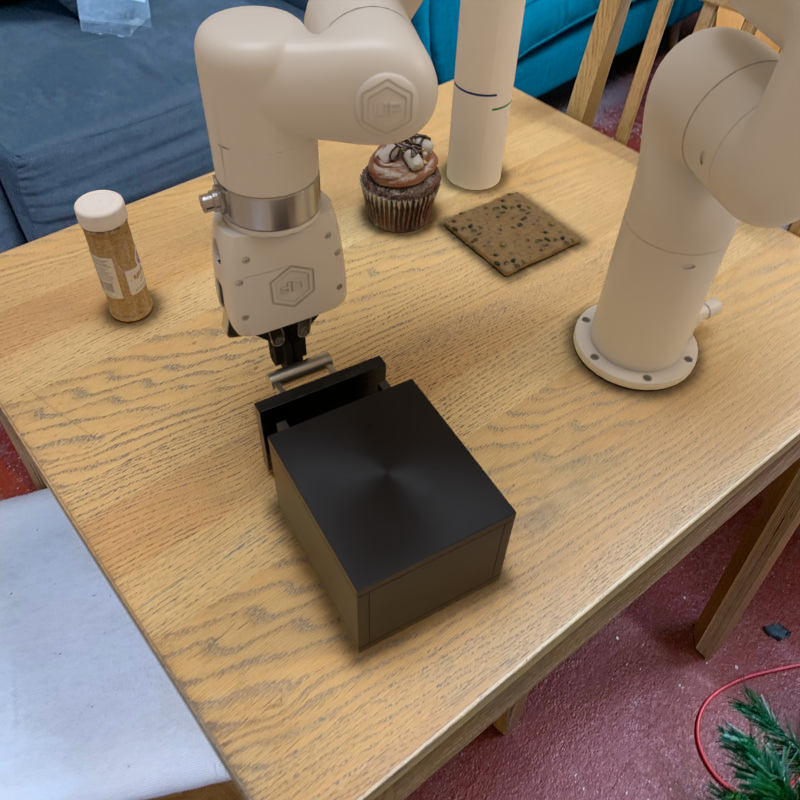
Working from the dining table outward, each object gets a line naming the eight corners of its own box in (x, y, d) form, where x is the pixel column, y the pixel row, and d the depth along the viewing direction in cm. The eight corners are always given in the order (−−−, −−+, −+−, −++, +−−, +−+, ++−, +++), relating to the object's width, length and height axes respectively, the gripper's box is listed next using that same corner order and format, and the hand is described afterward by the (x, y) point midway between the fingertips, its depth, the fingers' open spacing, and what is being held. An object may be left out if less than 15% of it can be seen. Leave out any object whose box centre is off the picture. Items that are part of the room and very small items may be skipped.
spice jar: (160, 313, 81) (130, 206, 71) (118, 329, 79) (81, 221, 69) (144, 289, 84) (113, 182, 74) (103, 304, 82) (66, 196, 72)
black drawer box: (278, 507, 66) (267, 436, 58) (407, 451, 70) (412, 378, 63) (358, 653, 57) (356, 591, 50) (499, 579, 62) (516, 512, 54)
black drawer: (242, 423, 70) (230, 363, 64) (354, 379, 74) (352, 319, 68) (332, 584, 60) (327, 530, 54) (456, 523, 64) (465, 467, 58)
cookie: (583, 241, 91) (584, 235, 91) (506, 277, 87) (507, 271, 86) (517, 193, 98) (518, 187, 97) (441, 224, 93) (442, 218, 92)
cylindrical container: (442, 160, 103) (458, -43, 84) (494, 159, 103) (522, -44, 85) (450, 191, 98) (469, -18, 79) (505, 188, 99) (536, -19, 80)
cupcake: (369, 186, 98) (369, 113, 91) (444, 197, 97) (450, 123, 90) (351, 230, 92) (349, 155, 84) (430, 242, 91) (436, 167, 83)
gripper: (189, 247, 52) (227, 420, 66) (382, 191, 57) (379, 362, 71) (155, 191, 56) (197, 364, 70) (338, 144, 61) (343, 314, 75)
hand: (289, 363), depth 70 cm, fingers closed
